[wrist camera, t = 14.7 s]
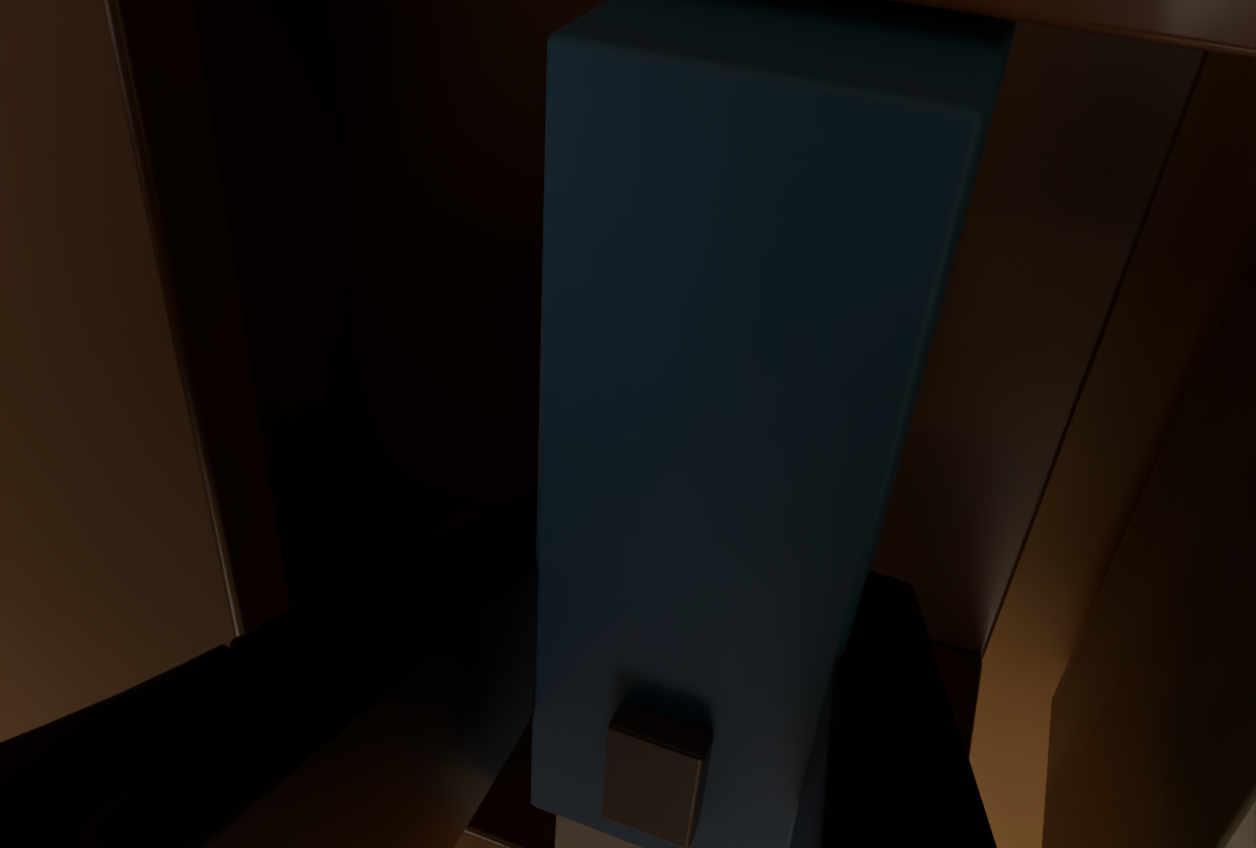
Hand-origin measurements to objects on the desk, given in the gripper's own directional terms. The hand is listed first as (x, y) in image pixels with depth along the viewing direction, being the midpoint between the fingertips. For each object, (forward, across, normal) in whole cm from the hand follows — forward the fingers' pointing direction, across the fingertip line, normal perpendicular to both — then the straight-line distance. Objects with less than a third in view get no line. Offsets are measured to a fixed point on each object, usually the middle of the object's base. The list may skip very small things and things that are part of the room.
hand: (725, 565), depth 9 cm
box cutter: (+1, 0, 0) cm, 1 cm away
